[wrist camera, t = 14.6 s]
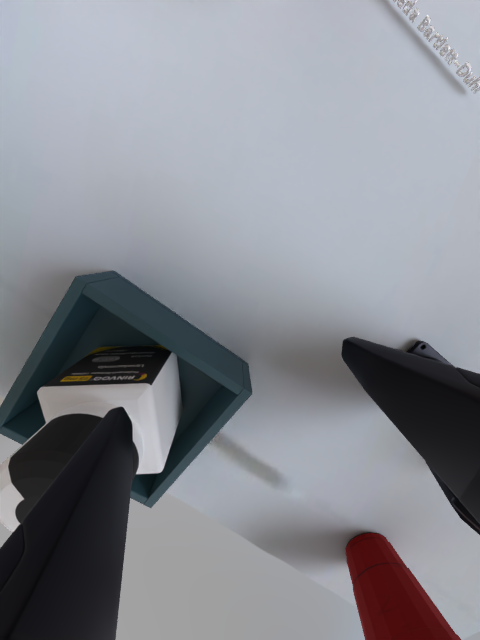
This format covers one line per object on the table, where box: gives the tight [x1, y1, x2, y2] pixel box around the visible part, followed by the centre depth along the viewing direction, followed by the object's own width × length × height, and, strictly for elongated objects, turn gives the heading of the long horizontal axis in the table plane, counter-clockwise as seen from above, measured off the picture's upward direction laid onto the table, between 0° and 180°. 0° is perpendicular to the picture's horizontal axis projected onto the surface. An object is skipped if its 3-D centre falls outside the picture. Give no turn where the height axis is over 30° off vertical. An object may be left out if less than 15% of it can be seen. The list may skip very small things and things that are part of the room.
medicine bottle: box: [0, 345, 183, 533], centre depth 16 cm, size 7×7×12 cm
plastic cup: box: [346, 533, 461, 640], centre depth 25 cm, size 11×11×12 cm
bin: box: [0, 271, 252, 508], centre depth 20 cm, size 15×15×5 cm
